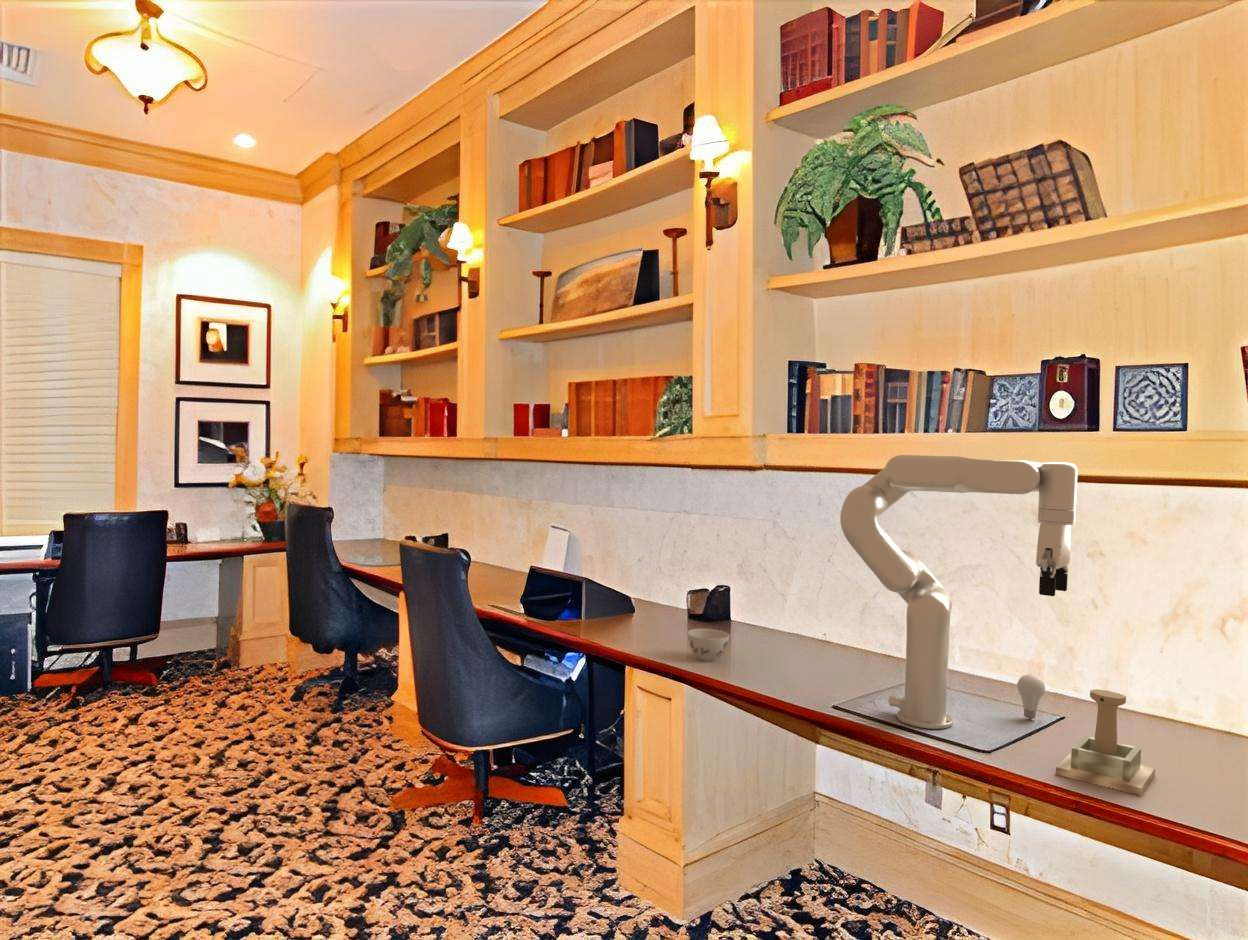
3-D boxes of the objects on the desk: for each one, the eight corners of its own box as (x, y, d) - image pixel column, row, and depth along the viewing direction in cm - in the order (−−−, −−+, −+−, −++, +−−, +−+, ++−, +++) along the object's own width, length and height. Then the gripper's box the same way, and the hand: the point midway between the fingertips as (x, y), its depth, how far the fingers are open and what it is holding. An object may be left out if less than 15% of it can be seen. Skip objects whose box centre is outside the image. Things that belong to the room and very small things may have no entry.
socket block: (1055, 774, 174) (1056, 747, 174) (1073, 756, 185) (1074, 730, 185) (1140, 795, 165) (1142, 767, 164) (1154, 775, 175) (1156, 748, 175)
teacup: (707, 666, 251) (708, 639, 250) (678, 657, 260) (678, 631, 260) (742, 659, 260) (743, 633, 260) (713, 651, 270) (714, 625, 270)
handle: (1094, 759, 179) (1097, 688, 178) (1127, 769, 174) (1130, 696, 173) (1082, 764, 176) (1085, 691, 176) (1115, 774, 171) (1118, 699, 170)
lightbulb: (1042, 725, 205) (1044, 679, 205) (1014, 720, 208) (1016, 675, 208) (1044, 718, 211) (1046, 673, 210) (1017, 713, 214) (1018, 669, 213)
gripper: (1049, 514, 203) (1046, 586, 204) (1027, 517, 190) (1023, 595, 191) (1084, 516, 198) (1081, 590, 199) (1064, 520, 185) (1060, 599, 186)
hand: (1053, 592), depth 195 cm, fingers open, 9 cm apart
